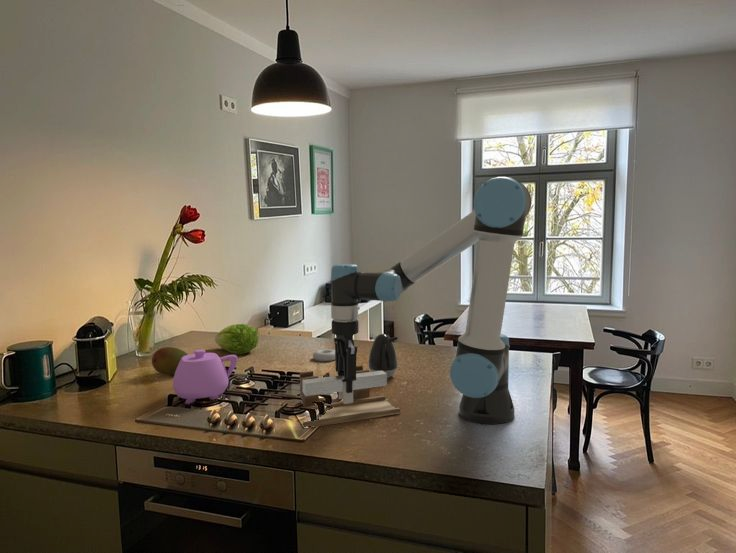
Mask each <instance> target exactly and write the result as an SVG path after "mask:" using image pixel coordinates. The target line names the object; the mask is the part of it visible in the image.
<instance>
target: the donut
mask: <svg viewBox="0 0 736 553" xmlns="http://www.w3.org/2000/svg"><path fill="white" fill-rule="evenodd" d="M312 357H313V359H314V360H315V361H316V362H323V363H324V362H332V361H335V349H331V348H321V349H317V350H315V351H314V352H313V354H312Z"/></svg>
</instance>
